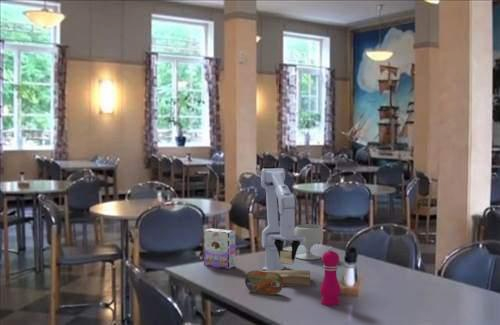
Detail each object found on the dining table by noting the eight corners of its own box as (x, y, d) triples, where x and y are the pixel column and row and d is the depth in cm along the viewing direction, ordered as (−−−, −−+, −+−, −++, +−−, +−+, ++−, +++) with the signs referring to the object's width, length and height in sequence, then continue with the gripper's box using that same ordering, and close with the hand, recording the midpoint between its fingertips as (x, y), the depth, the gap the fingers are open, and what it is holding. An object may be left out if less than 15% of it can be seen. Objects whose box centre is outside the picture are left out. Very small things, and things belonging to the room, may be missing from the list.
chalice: (328, 257, 271) (328, 226, 270) (311, 262, 261) (311, 230, 260) (304, 253, 280) (305, 222, 280) (287, 257, 270) (287, 226, 269)
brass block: (265, 279, 233) (265, 269, 233) (309, 280, 232) (309, 270, 231) (264, 286, 223) (264, 276, 223) (310, 287, 222) (310, 277, 221)
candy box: (236, 266, 253) (236, 230, 252) (228, 269, 248) (228, 232, 247) (211, 263, 260) (210, 227, 259) (203, 265, 255) (203, 229, 254)
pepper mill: (327, 307, 195) (328, 250, 194) (316, 301, 202) (316, 246, 200) (344, 304, 199) (345, 247, 197) (332, 298, 205) (333, 244, 204)
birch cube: (283, 261, 230) (283, 249, 229) (294, 262, 228) (294, 249, 228) (280, 263, 226) (280, 251, 225) (291, 264, 224) (291, 252, 224)
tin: (244, 291, 215) (244, 269, 215) (248, 289, 218) (248, 267, 217) (280, 296, 208) (280, 274, 208) (284, 294, 211) (284, 272, 210)
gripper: (266, 225, 225) (266, 259, 226) (302, 227, 220) (302, 262, 221) (272, 223, 231) (272, 255, 232) (307, 225, 226) (306, 258, 227)
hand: (287, 258), depth 227 cm, fingers closed on birch cube, 4 cm apart
